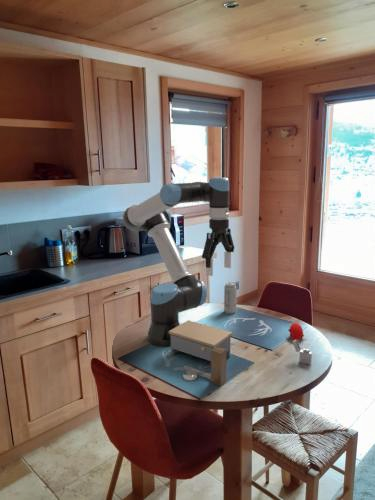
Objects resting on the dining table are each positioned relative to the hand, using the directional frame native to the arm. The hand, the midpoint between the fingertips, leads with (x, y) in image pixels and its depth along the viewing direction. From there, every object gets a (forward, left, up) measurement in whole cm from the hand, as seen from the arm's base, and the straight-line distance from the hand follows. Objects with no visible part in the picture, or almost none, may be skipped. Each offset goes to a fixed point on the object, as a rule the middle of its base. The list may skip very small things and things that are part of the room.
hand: (218, 271), depth 153 cm
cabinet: (-1, -12, -32) cm, 34 cm away
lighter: (+33, +6, -32) cm, 46 cm away
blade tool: (+8, -24, -32) cm, 41 cm away
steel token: (+5, -27, -32) cm, 42 cm away
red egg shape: (+24, +24, -32) cm, 47 cm away
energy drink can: (-14, +34, -32) cm, 49 cm away
